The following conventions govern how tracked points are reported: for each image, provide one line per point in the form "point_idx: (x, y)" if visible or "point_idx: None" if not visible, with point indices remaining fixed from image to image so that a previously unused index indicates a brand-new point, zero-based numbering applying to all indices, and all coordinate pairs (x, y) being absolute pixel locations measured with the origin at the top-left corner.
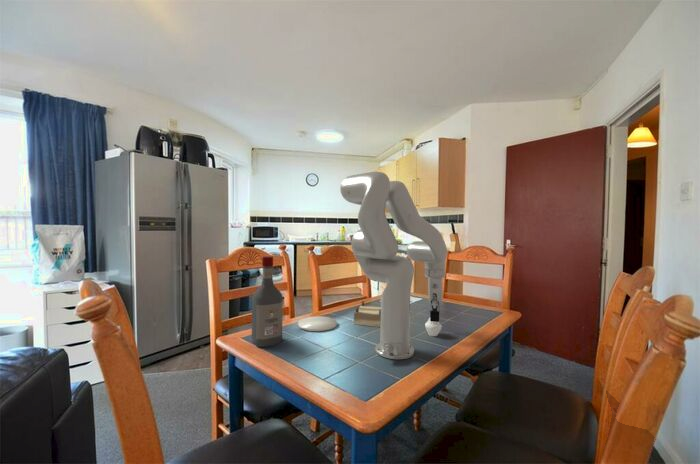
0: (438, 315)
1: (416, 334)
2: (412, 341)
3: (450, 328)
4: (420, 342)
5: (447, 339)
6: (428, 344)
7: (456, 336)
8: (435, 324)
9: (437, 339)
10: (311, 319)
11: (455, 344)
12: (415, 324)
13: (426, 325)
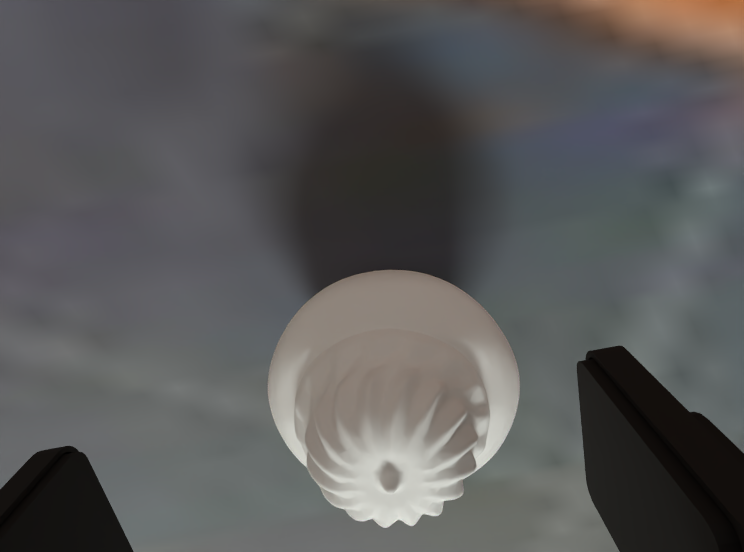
0: (703, 442)
1: (471, 478)
2: None
3: (21, 181)
4: (699, 397)
5: (467, 143)
6: (732, 314)
7: (287, 48)
8: (477, 373)
9: (524, 255)
10: None
11: (610, 7)
12: (167, 546)
13: (475, 470)
